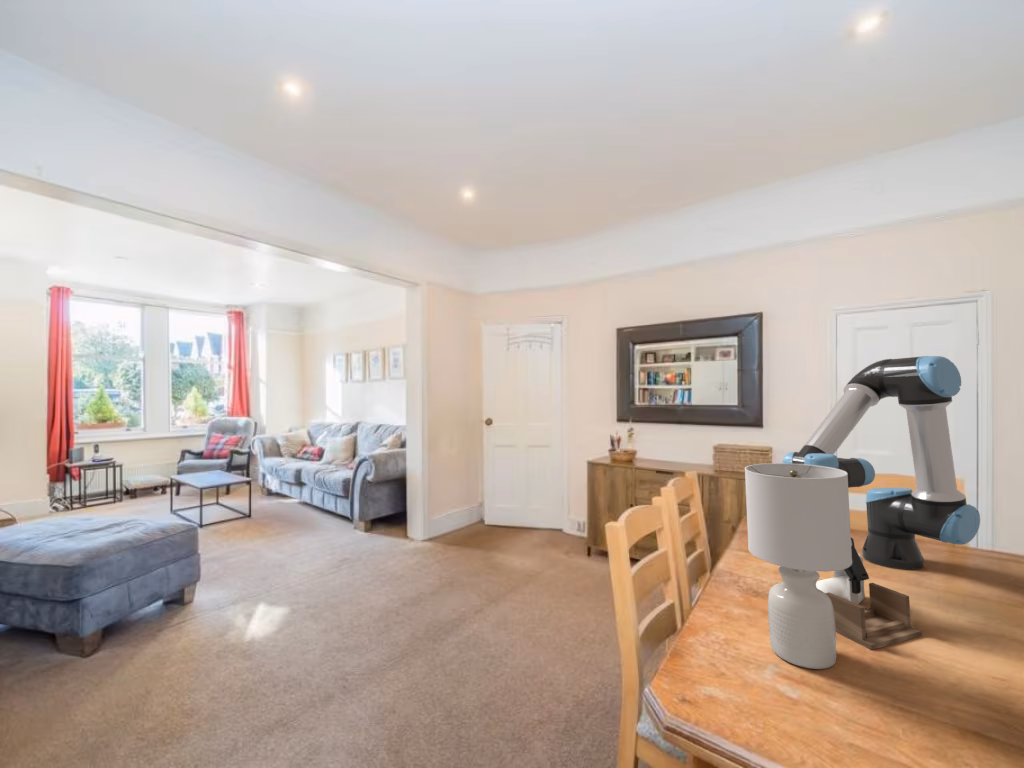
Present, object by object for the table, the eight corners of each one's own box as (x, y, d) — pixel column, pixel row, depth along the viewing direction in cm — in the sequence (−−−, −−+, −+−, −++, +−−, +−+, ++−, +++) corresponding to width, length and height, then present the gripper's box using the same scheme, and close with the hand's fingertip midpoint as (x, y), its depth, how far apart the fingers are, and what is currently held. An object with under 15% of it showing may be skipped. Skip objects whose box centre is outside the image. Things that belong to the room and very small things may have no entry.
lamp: (737, 631, 106) (729, 464, 107) (818, 630, 106) (810, 462, 106) (782, 683, 87) (773, 479, 88) (882, 681, 87) (871, 476, 88)
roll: (830, 584, 123) (845, 570, 119) (851, 609, 117) (868, 596, 113) (804, 590, 120) (819, 575, 116) (825, 616, 115) (841, 602, 111)
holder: (866, 611, 113) (864, 579, 114) (921, 635, 102) (919, 599, 102) (818, 623, 109) (816, 589, 109) (871, 649, 97) (869, 612, 97)
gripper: (771, 503, 130) (775, 578, 130) (861, 527, 106) (866, 618, 106) (791, 501, 132) (795, 574, 132) (884, 523, 109) (888, 612, 108)
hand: (826, 594), depth 119 cm, fingers open, 13 cm apart
